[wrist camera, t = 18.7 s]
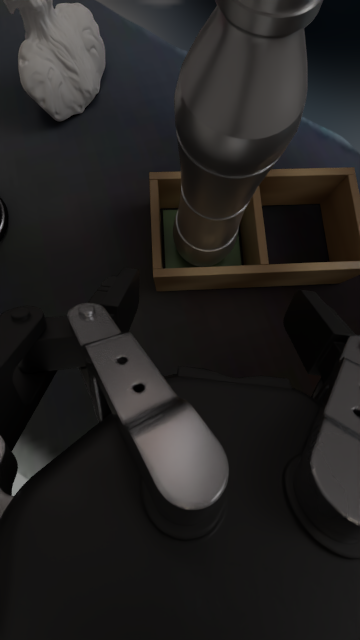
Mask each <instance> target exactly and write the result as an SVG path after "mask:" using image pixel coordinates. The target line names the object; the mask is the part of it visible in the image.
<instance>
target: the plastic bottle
mask: <svg viewBox="0 0 360 640" xmlns="http://www.w3.org/2000/svg"><path fill="white" fill-rule="evenodd" d="M215 1H216V3H217V7H216V8H215V10H214V11H213V12H212V14H211V16H210V17H209V19H208V20H207V21H206V23H205V24H204V26H203V27H202V29H201V30H200V32H199V33H198V35H197V37H196V39H195V41H194V43H193V44H192V46H191V48H190V50H189V52H188V54H187V56H186V58H185V60H184V62H183V64H182V67H181V71H180V75H179V78H178V82H177V86H176V91H175V95H174V109H175V125H176V133H177V141H178V149H179V157H180V165H181V196H180V202H179V208H178V211H177V214H176V216H175V221H174V225H173V239H174V243H175V246H176V248H177V251H178V252H179V254H180V255H181V257H182V258H183V259H184V260H185V261H187V262H189V263H190V264H193V265H195V266H200V267H208V266H212V265H215V264H217V263H219V262H220V261H222V260H223V259H224V258H225V257H226V256H227V255H228V254H229V253H230V252H231V250H232V249H233V247H234V244H235V242H236V238H237V235H238V229H239V224H240V221H241V218H242V216H243V213H244V210H245V208H246V206H247V205H248V203H249V201H250V199H251V198H252V196H253V194H254V193H255V191H256V189H257V188H258V186H259V185H260V183H261V182H262V181H263V179H264V178H265V177H266V175H267V174H268V172H269V171H270V170H271V168H272V167H273V166H274V164H275V163H276V162H277V160H278V159H279V157H280V156H281V155H282V154H283V152H284V150H285V149H286V147H287V146H288V144H289V143H290V141H291V139H292V138H293V136H294V135H295V133H296V132H297V129H298V126H299V124H300V121H301V117H302V113H303V109H304V105H305V101H306V95H307V54H306V43H305V33H304V27H306V26H307V25H308V24H309V23H310V22H311V21H313V19H314V18H315V16H316V15H317V13H318V11H319V8H320V6H321V4H322V1H323V0H215Z"/></svg>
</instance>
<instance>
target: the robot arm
mask: <svg viewBox="0 0 360 640" xmlns="http://www.w3.org/2000/svg"><path fill="white" fill-rule="evenodd" d="M7 225H8V212H7V208H6V206H5V204H4V202H3V200H2V199H1V198H0V241H1V240H2V238H3V236H4V234H5V232H6V229H7ZM138 304H139V270H137V269H129V268H123V269H122V270H121V272H120V273H119V275H118V276H117V277H116V276H111V277H109V278H107V279H106V280H104V281H103V283H102V284H101V286H100V287H99V288H98V289H97V291H96V292H95V293H94V295H93V296H92V297H91V299H90V300H89V302H88V303H83V304H79V305H76V306H74V307H72V308H71V309H70V310H69V311H68V313H67V316H60V317H46V318H45V317H44V313H43V311H42V310H41V309H40V308H38V307H34V306H22V307H17V308H13V309H10V310H8V311H6V312H4V313H3V314H2V315H0V640H360V335H355V334H354V333H353V331H352V330H351V329H350V328H349V327H348V326H347V325H346V323H345V322H344V321H342V319H341V318H340V317H339V316H338V314H337V313H336V312H335V311H334V310H333V309H332V308H331V307H329V306H328V305H326V304H325V303H324V302H323V301H322V299H321V298H320V297H319V296H318V295H317V294H316V292H313V291H305V290H297V291H296V292H295V294H294V296H293V298H292V301H291V303H290V305H289V307H288V310H287V312H286V314H285V317H284V327H285V329H286V331H287V333H288V335H289V337H290V339H291V341H292V343H293V345H294V347H295V349H296V351H297V353H298V355H299V357H300V359H301V361H302V363H303V365H304V367H305V369H306V371H307V373H308V374H312V375H321V379H320V380H319V382H318V383H317V385H316V387H315V390H314V392H313V394H312V396H311V397H310V396H309V395H307V394H305V393H303V392H301V391H298V390H296V389H293V388H292V386H291V384H290V381H289V379H285V378H277V377H269V376H253V377H242V378H232V377H229V376H226V375H223V374H220V373H217V372H213V371H210V370H207V369H201V368H193V367H185V366H178V372H177V374H173V375H168V376H164V377H163V376H162V374H161V373H160V372H159V370H158V369H157V368H156V366H155V365H154V364H153V362H152V361H151V359H150V358H149V357H148V355H147V354H146V353H145V351H144V350H143V349H142V347H141V346H140V344H139V343H138V342H137V340H136V339H135V338H134V336H133V335H132V334H131V333H130V332H129V329H130V326H131V324H132V321H133V319H134V316H135V314H136V311H137V308H138ZM77 367H78V368H79V371H80V373H81V375H82V378H83V380H84V383H85V385H86V388H87V390H88V393H89V395H90V397H91V400H92V403H93V406H94V409H95V413H96V416H97V419H98V422H99V423H98V424H97V425H96V426H95V427H93V428H92V429H91V430H90V431H88V432H87V433H86V434H85V435H83V436H82V437H81V438H80V439H78V440H77V441H76V442H75V443H73V444H72V445H71V446H70V447H68V448H67V449H66V450H65V451H63V452H62V453H61V454H60V455H58V456H57V457H56V458H55V459H53V460H52V461H51V462H50V463H48V464H47V465H46V466H45V467H43V468H42V469H41V470H40V471H38V472H37V473H36V474H35V475H34V476H32V477H31V478H30V479H29V480H28V481H27V482H26V483H25V484H24V485H23V486H22V487H21V489H20V490H19V491H18V492H17V493H16V495H15V496H12V486H13V482H14V479H15V477H16V474H17V469H18V464H17V460H16V458H15V456H14V455H13V453H12V450H13V448H14V446H15V445H16V443H17V441H18V439H19V437H20V436H21V434H22V432H23V430H24V429H25V427H26V425H27V423H28V421H29V420H30V418H31V416H32V414H33V413H34V411H35V409H36V407H37V406H38V404H39V402H40V400H41V398H42V397H43V395H44V393H45V391H46V390H47V388H48V386H49V384H50V382H51V381H52V379H53V377H54V375H55V374H56V372H57V370H62V369H69V368H77Z"/></svg>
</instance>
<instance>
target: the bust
mask: <svg viewBox="0 0 360 640" xmlns="http://www.w3.org/2000/svg"><path fill="white" fill-rule="evenodd" d="M3 1H4V3H5V4H6V6H7V8H8V10H9V12H10V14H13V13H14V11H15V9H16V8H18V9H19V11H20V13H21V16H22V19H23V21H24V28H25V30H26V33H25V41H23V43H22V44H21V46H20V49H19V54H18V68H19V75H20V81H21V84H22V86H23V89H24V90H25V91H26V93H27V94H28V95H29V96H30V97H31V98H32V99H33V100H35V101H36V102H37V104H38V105H40V106H41V107H42V108H43V109H44V110H45V111H46V112H47V113H48V114H49V115H50V116H51V117H52V118H53V119H54V120H56V121H59V122H61V121H64V120H66V119H67V118H69V117H70V116H72V115H75V114H80V113H83V112H84V110H85V108H86V106H88V105H89V104H90V103H91V101H92V100H93V99H94V97H95V95H96V94H98V93H99V90H100V80H101V77H102V75H103V72H104V69H105V48H104V43H103V40H102V38H101V37H100V33H99V27H98V25H97V23H96V22H95V21H94V19H93V15H92V13H91V12H90V10H89V9H87V8H86V7H84V6H83V5H82V4H80V3H73V4H69V3H61V4H57V5H56V7H55V9H54V8H53V6H52V2H53V1H52V0H3Z"/></svg>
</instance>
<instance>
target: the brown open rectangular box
mask: <svg viewBox="0 0 360 640" xmlns="http://www.w3.org/2000/svg"><path fill="white" fill-rule="evenodd" d="M149 180H150V181H149V182H150V209H151V236H152V262H153V279H154V283H155V287H156V291H177V290H200V289H223V288H246V287H269V286H291V285H314V284H337V283H342V282H344V281H346V280H348V279H351V278H353V277H355V276H357V275H360V195H359V190H358V185H357V180H356V175H355V170H354V167H353V168H311V169H271V170H270V171H269V172H268V174H267V175H266V177H265V178H264V179H263V181H262V182H261V183H260V185H259V186H258V188H257V189H256V191H255V193H254V194H253V196H252V198H251V199H250V201H249V203H248V205H247V206H246V208H245V210H244V213H243V216H242V218H241V221H240V232H241V241H242V251H243V261H244V266H242V265H241V255H240V245H239V235H237V238H236V242H235V244H234V247H233V249H232V250H231V252H230V253H229V254H228V255H227V256H226V257H225V258H224V259H223V260H222V261H220V262H219V263H217V264H215V265H212V266H208V267H200V266H195V265H193V264H190V263H189V262H187V261H185V260H184V259H183V258H182V257H181V255H180V254H179V252H178V251H177V248H176V246H175V243H174V239H173V225H174V221H175V216H176V214H177V211H178V210H163V224H164V246H165V267H166V269H163V261H162V239H161V216H160V209H164V208H179V202H180V196H181V172H149ZM298 204H320V207H321V213H322V219H323V225H324V231H325V237H326V243H327V249H328V255H329V261H330V262H318V263H294V264H269V262H268V254H267V246H266V237H265V229H264V221H263V213H262V206H265V205H298ZM268 264H269V265H268Z"/></svg>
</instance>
